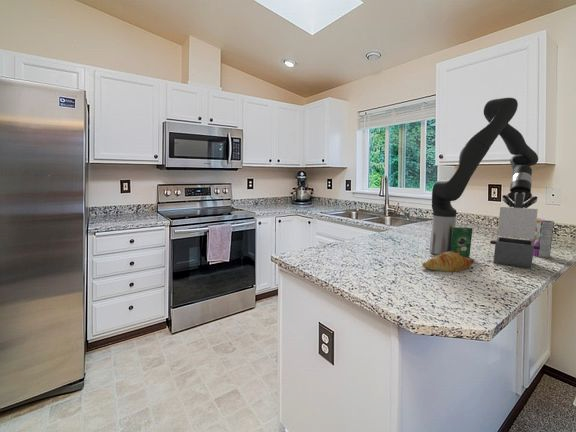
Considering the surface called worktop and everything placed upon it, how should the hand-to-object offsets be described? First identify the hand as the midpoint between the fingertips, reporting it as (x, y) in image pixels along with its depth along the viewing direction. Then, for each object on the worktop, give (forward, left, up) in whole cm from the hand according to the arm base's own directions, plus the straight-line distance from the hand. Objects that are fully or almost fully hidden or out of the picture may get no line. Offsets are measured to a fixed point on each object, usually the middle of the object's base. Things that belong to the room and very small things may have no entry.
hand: (517, 213), depth 129 cm
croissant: (-31, -28, -20) cm, 46 cm away
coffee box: (-22, -8, -19) cm, 31 cm away
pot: (-4, -11, -19) cm, 22 cm away
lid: (-2, -5, 0) cm, 5 cm away
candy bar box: (+12, +9, -19) cm, 25 cm away
